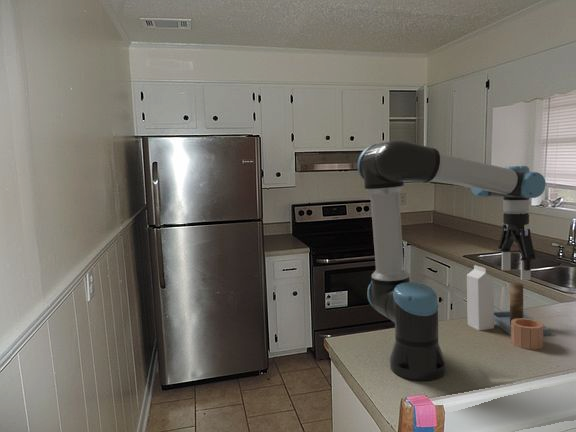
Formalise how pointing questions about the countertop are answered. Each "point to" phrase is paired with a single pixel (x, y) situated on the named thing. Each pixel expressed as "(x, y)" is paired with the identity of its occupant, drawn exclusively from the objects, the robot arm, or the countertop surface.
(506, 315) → the tray
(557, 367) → the countertop surface
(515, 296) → the baguette
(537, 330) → the cup
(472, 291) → the milk
